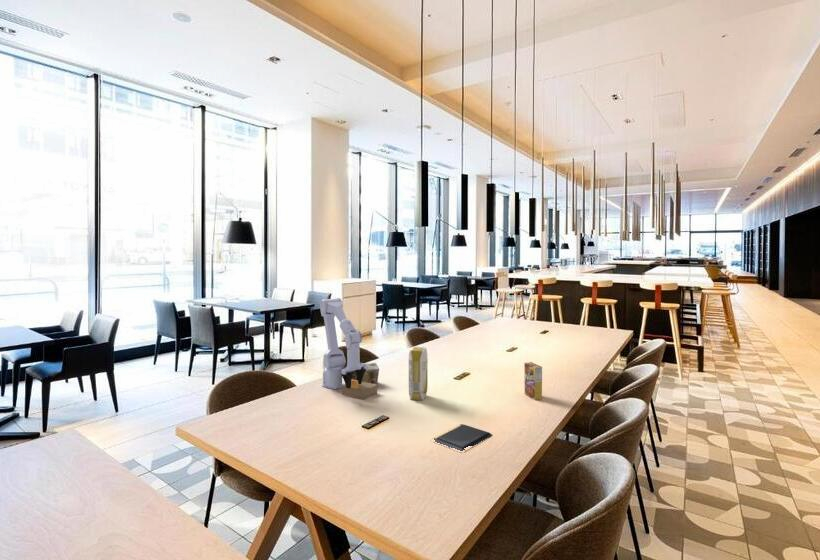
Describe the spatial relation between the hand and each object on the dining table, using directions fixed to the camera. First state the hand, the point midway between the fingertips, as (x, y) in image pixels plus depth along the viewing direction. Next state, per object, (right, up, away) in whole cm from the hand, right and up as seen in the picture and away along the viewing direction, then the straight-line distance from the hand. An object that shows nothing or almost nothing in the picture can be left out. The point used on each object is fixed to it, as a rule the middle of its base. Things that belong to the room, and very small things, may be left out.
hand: (353, 385), depth 207 cm
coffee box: (+9, +2, +21) cm, 23 cm away
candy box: (+83, -5, -1) cm, 83 cm away
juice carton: (+30, -5, -2) cm, 31 cm away
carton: (+2, -5, +4) cm, 6 cm away
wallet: (+45, -9, -45) cm, 65 cm away
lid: (+2, -1, +4) cm, 4 cm away
